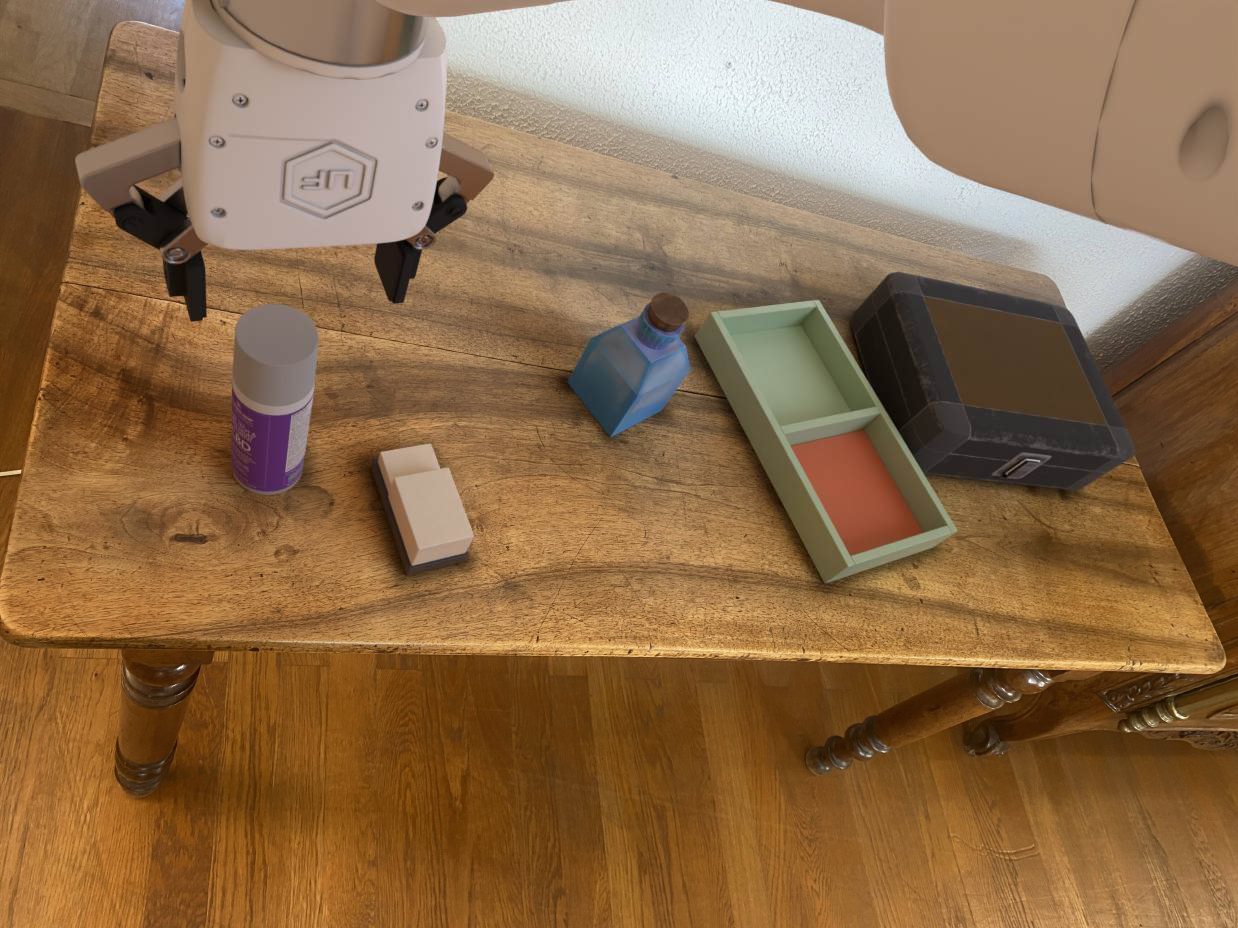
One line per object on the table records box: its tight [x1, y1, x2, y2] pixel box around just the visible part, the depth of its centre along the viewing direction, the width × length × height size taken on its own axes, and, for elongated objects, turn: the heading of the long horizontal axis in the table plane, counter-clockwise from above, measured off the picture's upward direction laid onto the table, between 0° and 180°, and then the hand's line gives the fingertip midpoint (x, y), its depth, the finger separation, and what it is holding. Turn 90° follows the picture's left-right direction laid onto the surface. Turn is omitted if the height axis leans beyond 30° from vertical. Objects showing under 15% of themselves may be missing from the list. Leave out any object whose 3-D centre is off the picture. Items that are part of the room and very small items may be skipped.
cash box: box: [850, 271, 1136, 491], centre depth 90 cm, size 25×20×8 cm
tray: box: [694, 299, 959, 584], centre depth 81 cm, size 14×26×4 cm, turn 24°
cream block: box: [370, 443, 475, 577], centre depth 62 cm, size 9×4×4 cm, turn 24°
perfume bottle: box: [566, 291, 691, 438], centre depth 71 cm, size 6×6×12 cm
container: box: [230, 303, 320, 496], centre depth 55 cm, size 5×5×15 cm
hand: (295, 290), depth 44 cm, fingers open, 9 cm apart
